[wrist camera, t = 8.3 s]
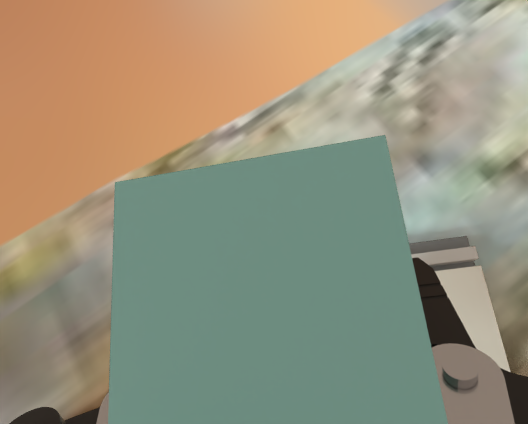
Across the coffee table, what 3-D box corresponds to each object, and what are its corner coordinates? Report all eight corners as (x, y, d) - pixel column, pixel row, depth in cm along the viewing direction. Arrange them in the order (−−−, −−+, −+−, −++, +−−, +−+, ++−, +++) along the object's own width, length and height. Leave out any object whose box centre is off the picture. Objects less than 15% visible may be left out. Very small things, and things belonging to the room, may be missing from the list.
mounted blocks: (202, 397, 26) (178, 408, 22) (198, 306, 28) (175, 303, 24) (486, 374, 23) (513, 382, 19) (460, 275, 25) (480, 265, 21)
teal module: (270, 446, 13) (99, 718, 4) (255, 269, 15) (115, 173, 6) (389, 439, 13) (517, 743, 3) (357, 256, 15) (383, 125, 5)
